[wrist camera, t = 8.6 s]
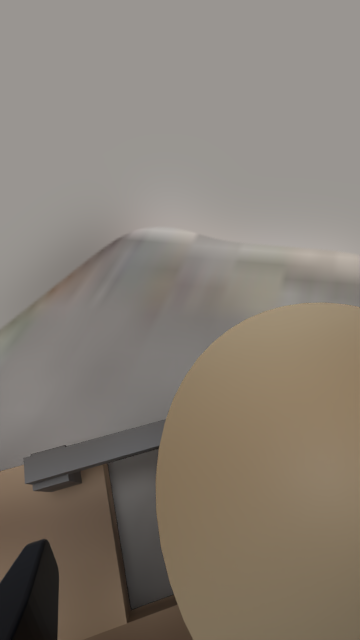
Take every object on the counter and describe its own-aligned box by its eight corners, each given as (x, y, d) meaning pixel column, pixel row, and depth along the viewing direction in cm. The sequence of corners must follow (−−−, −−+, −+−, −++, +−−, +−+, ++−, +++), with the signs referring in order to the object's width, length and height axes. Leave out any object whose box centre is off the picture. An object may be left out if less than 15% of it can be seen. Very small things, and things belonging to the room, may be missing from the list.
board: (478, 618, 13) (609, 668, 9) (-7, 835, 10) (-111, 1041, 6) (350, 380, 17) (402, 347, 14) (-9, 480, 14) (-71, 473, 11)
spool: (270, 514, 14) (695, 580, 3) (190, 572, 13) (365, 1037, 2) (220, 431, 16) (366, 257, 4) (146, 475, 15) (87, 398, 3)
